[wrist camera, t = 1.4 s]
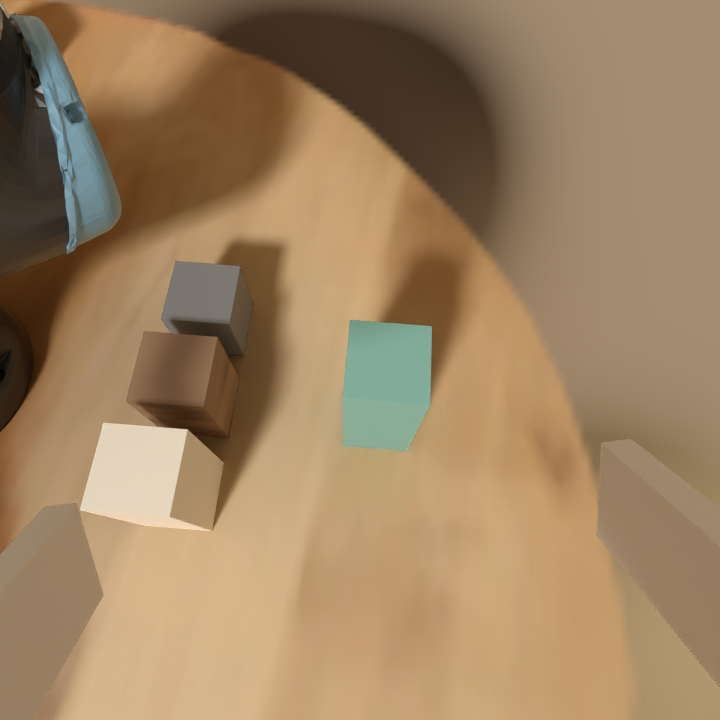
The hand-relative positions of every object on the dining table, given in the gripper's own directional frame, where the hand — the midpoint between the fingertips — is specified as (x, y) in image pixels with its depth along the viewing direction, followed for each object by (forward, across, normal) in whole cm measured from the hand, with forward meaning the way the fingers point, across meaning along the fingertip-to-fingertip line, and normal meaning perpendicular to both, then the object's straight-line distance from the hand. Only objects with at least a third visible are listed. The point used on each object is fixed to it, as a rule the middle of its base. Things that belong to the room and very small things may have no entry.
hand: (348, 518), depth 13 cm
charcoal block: (+32, -10, -2) cm, 34 cm away
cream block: (+24, -13, -12) cm, 29 cm away
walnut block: (+28, -11, -7) cm, 31 cm away
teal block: (+27, +2, -9) cm, 29 cm away
